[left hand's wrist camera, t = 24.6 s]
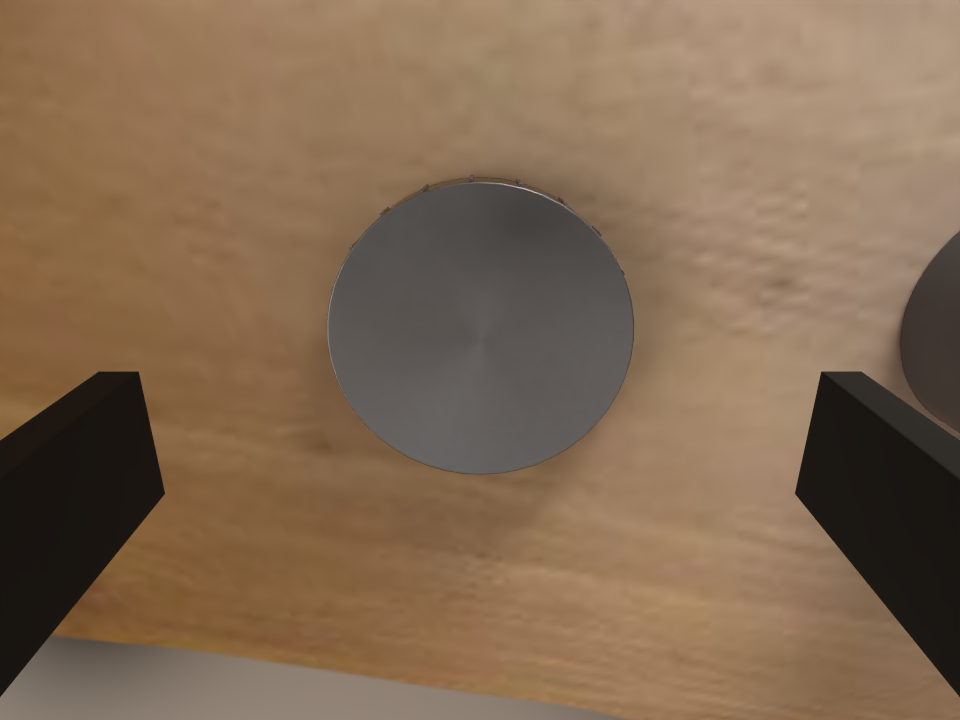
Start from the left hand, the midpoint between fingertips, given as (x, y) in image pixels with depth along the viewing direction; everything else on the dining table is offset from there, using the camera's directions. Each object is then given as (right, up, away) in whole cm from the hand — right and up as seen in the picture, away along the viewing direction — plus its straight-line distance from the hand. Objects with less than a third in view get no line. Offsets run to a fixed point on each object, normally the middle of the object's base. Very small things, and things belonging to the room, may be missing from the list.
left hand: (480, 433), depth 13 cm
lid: (0, +2, +8) cm, 9 cm away
